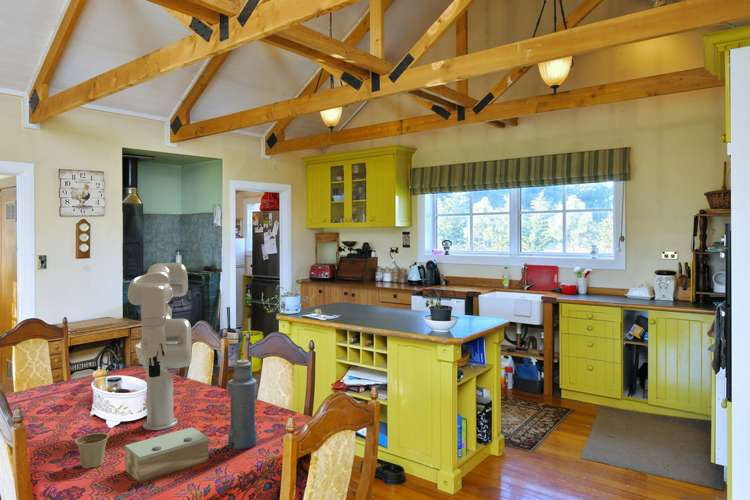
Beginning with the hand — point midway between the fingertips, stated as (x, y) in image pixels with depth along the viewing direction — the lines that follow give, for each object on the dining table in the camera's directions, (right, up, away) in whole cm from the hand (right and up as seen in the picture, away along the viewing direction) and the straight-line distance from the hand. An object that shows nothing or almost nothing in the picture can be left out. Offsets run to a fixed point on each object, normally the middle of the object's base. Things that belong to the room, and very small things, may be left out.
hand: (154, 376), depth 172 cm
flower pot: (-18, -28, -6) cm, 33 cm away
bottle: (+27, -27, +10) cm, 40 cm away
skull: (-32, -26, +76) cm, 86 cm away
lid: (+7, -20, -7) cm, 23 cm away
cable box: (+7, -27, -6) cm, 29 cm away
